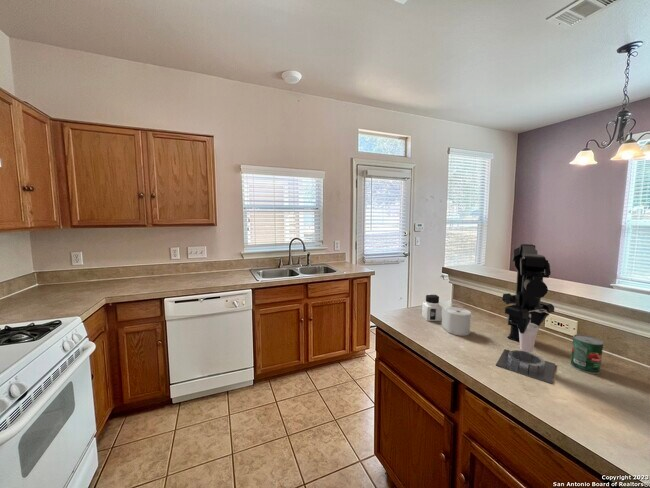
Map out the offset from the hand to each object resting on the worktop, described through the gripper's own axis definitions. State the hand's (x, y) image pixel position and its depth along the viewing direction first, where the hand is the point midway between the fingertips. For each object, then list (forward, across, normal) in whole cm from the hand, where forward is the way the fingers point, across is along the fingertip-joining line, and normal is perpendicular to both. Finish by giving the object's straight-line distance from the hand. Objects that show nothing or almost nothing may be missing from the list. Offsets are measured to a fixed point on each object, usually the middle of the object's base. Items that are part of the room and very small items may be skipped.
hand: (527, 331), depth 99 cm
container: (+13, -1, -49) cm, 51 cm away
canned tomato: (+13, -19, +9) cm, 25 cm away
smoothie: (+7, 0, 0) cm, 7 cm away
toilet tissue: (+13, 0, -32) cm, 35 cm away
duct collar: (+13, 0, 0) cm, 13 cm away
